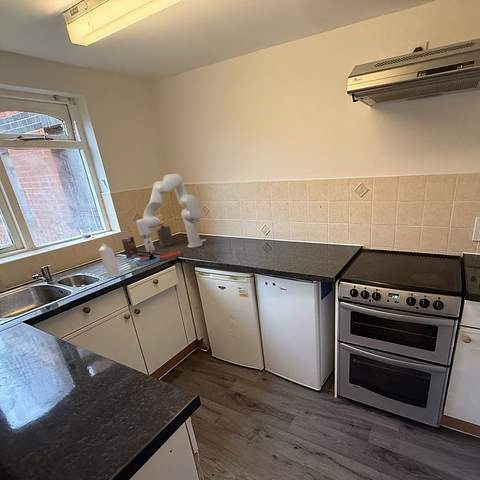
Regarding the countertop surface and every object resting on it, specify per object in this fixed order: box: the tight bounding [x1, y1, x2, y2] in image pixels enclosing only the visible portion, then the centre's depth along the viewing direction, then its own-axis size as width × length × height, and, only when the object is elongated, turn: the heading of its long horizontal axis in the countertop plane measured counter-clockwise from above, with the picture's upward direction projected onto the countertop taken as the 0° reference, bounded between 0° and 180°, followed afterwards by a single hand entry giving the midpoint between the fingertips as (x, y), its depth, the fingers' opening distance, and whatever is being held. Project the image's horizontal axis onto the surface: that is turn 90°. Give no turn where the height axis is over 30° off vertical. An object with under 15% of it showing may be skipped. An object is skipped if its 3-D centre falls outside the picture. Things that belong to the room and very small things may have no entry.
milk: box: [98, 243, 121, 279], centre depth 196 cm, size 6×6×22 cm
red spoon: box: [139, 253, 156, 259], centre depth 233 cm, size 12×4×2 cm, turn 122°
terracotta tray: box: [157, 250, 182, 262], centre depth 229 cm, size 15×11×2 cm
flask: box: [156, 224, 174, 249], centre depth 260 cm, size 4×14×18 cm, turn 156°
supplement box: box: [121, 236, 139, 260], centre depth 236 cm, size 9×5×16 cm, turn 168°
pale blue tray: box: [135, 254, 161, 267], centre depth 222 cm, size 15×11×2 cm
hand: (152, 259), depth 223 cm, fingers closed
